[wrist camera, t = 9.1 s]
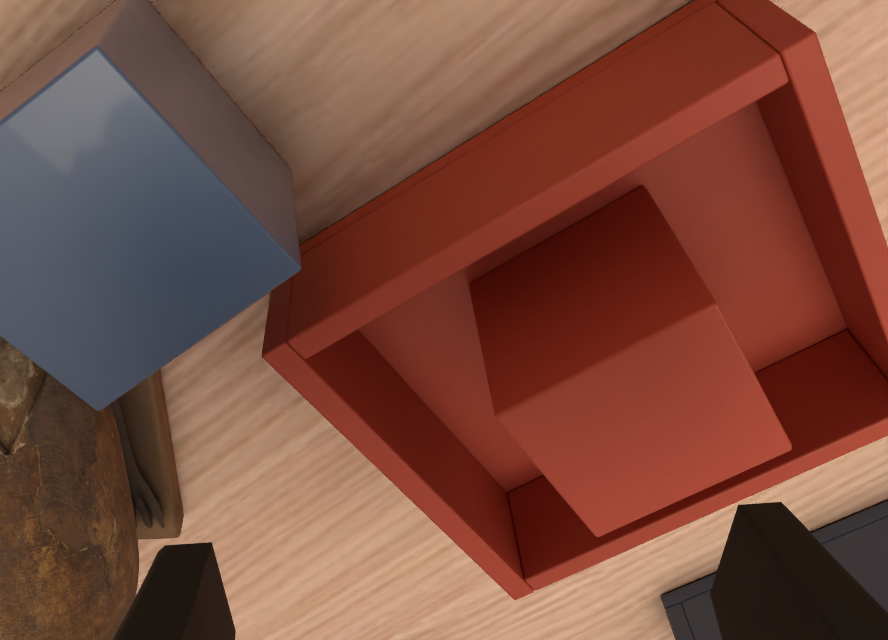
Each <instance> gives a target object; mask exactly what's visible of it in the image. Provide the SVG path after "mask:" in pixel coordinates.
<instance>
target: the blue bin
mask: <svg viewBox="0 0 888 640" xmlns="http://www.w3.org/2000/svg"><path fill="white" fill-rule="evenodd" d="M812 534H813V536H814V537H815V538H816V539H817V540H818V541H819V542H820V543H821V544H822V545H823V546H824V547H825V548H826V549H827V550H828V551H829V552H830V553H831V554H832V555H833V557H834V558H835V559H836V560H837V561H838V562H839V563H840V564H841V565H842V566H843V567H844V568H845V569H846V570H847V571H848V572H849V573H850V574H851V575H852V576H853V577H854V578H855V579H856V580H857V581H858V582H859V583H860V584H861V586H862V587H863V588H864V589H865V590H866V591H867V592H868V593H869V594H870V595H871V596H872V597H873V598H874V599H875V600H876V601H877V602H878V603H879V604H880V605H881V606H882V607H883V608H884V609H885V610H886V611H887V612H888V501H886V502H884V503H881V504H879V505H877V506H874V507H872V508H869V509H867V510H865V511H862V512H860V513H858V514H855V515H853V516H850V517H848V518H846V519H843V520H841V521H839V522H836V523H834V524H831V525H829V526H827V527H824V528H822V529H819V530H817V531H815V532H812ZM715 576H716V573H715V574H712V575H710V576H708V577H705V578H703V579H700V580H698V581H696V582H693V583H691V584H689V585H686V586H684V587H681V588H679V589H677V590H674V591H672V592H670V593H667V594H665V595H662V596H661V599H662V602H663V605H664V608H665V609H666V614H667V616H668V619H669V622H670V625H671V628H672V631H673V634H674V637H675V640H722V637H721V633H720V630H719V626H718V622H717V619H716V615H715V611H714V608H713V604H712V600H711V597H710V592H711V589H712V586H713V582H714V579H715Z"/></svg>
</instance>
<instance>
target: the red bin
mask: <svg viewBox="0 0 888 640" xmlns="http://www.w3.org/2000/svg"><path fill="white" fill-rule="evenodd" d="M641 186H645V187H646V188H647V190H648V191H649V193H650V194H651V196H652V198H653V199H654V201H655V203H656V204H657V206H658V207H659V209H660V211H661V212H662V214H663V216H664V217H665V219H666V220H667V222H668V224H669V225H670V227H671V229H672V230H673V232H674V233H675V235H676V237H677V238H678V240H679V242H680V243H681V245H682V246H683V248H684V250H685V251H686V253H687V255H688V256H689V258H690V259H691V261H692V263H693V264H694V266H695V268H696V269H697V271H698V272H699V274H700V276H701V277H702V279H703V281H704V282H705V284H706V285H707V287H708V289H709V290H710V292H711V294H712V295H713V297H714V298H715V300H716V302H717V303H718V305H719V307H720V309H721V311H722V313H723V315H724V317H725V319H726V320H727V322H728V324H729V326H730V328H731V330H732V332H733V334H734V336H735V338H736V339H737V341H738V343H739V345H740V347H741V349H742V351H743V353H744V355H745V357H746V359H747V360H748V362H749V364H750V366H751V368H752V370H753V372H754V374H755V376H756V378H757V379H758V381H759V383H760V385H761V387H762V389H763V391H764V393H765V395H766V397H767V398H768V400H769V402H770V404H771V406H772V408H773V410H774V412H775V414H776V416H777V418H778V419H779V421H780V423H781V425H782V427H783V429H784V431H785V433H786V435H787V437H788V438H789V440H790V442H791V444H792V449H791V450H790V451H788V452H786V453H784V454H782V455H779V456H777V457H775V458H773V459H771V460H768V461H766V462H764V463H762V464H759V465H757V466H755V467H753V468H751V469H748V470H746V471H744V472H742V473H740V474H737V475H735V476H733V477H731V478H728V479H726V480H724V481H722V482H720V483H717V484H715V485H713V486H711V487H708V488H706V489H704V490H702V491H700V492H697V493H695V494H693V495H691V496H688V497H686V498H684V499H682V500H680V501H677V502H675V503H673V504H671V505H669V506H666V507H664V508H662V509H660V510H657V511H655V512H653V513H651V514H649V515H646V516H644V517H642V518H640V519H637V520H635V521H633V522H631V523H629V524H626V525H624V526H622V527H620V528H617V529H615V530H613V531H611V532H609V533H606V534H604V535H602V536H600V537H596V536H595V535H594V534H593V533H592V531H591V530H590V529H589V528H588V527H587V526H586V524H585V523H584V522H583V521H582V520H581V518H580V517H579V516H578V515H577V514H576V513H575V511H574V510H573V509H572V508H571V507H570V505H569V504H568V503H567V502H566V501H565V500H564V498H563V497H562V496H561V495H560V494H559V492H558V491H557V490H556V489H555V488H554V487H553V485H552V484H551V483H550V482H549V481H548V479H547V478H546V477H545V476H544V475H543V474H542V472H541V471H540V470H539V469H538V468H537V466H536V465H535V464H534V463H533V462H532V461H531V459H530V458H529V457H528V456H527V455H526V453H525V452H524V451H523V450H522V449H521V448H520V446H519V445H518V444H517V443H516V442H515V440H514V439H513V438H512V437H511V436H510V435H509V433H508V432H507V431H506V430H505V429H504V427H503V426H502V425H501V424H500V423H499V422H498V420H497V419H496V418H495V415H494V410H493V405H492V400H491V395H490V389H489V384H488V379H487V374H486V369H485V364H484V359H483V354H482V349H481V344H480V339H479V334H478V329H477V324H476V319H475V314H474V309H473V304H472V299H471V294H470V289H469V284H470V283H471V282H473V281H475V280H477V279H478V278H480V277H482V276H484V275H486V274H487V273H489V272H491V271H493V270H494V269H496V268H498V267H500V266H501V265H503V264H505V263H507V262H508V261H510V260H512V259H514V258H516V257H517V256H519V255H521V254H523V253H524V252H526V251H528V250H530V249H531V248H533V247H535V246H537V245H538V244H540V243H542V242H544V241H546V240H547V239H549V238H551V237H553V236H554V235H556V234H558V233H560V232H561V231H563V230H565V229H567V228H568V227H570V226H572V225H574V224H576V223H577V222H579V221H581V220H583V219H584V218H586V217H588V216H590V215H591V214H593V213H595V212H597V211H598V210H600V209H602V208H604V207H605V206H607V205H609V204H611V203H613V202H614V201H616V200H618V199H620V198H621V197H623V196H625V195H627V194H628V193H630V192H632V191H634V190H635V189H637V188H639V187H641ZM299 250H300V259H301V270H300V271H299V272H297V273H296V274H294V275H293V276H292V277H290V278H289V279H287V280H286V281H284V282H283V283H282V284H280V285H279V286H277V287H276V288H274V289H273V290H272V291H271V295H270V302H269V309H268V315H267V322H266V329H265V336H264V343H263V350H262V357H263V358H264V359H265V360H266V361H267V362H268V363H269V364H270V365H271V366H272V367H273V368H274V369H275V370H276V371H277V372H278V373H279V374H280V375H281V376H282V377H283V378H284V379H286V380H287V381H288V382H289V383H290V384H291V385H292V386H293V387H294V388H295V389H296V390H297V391H298V392H299V393H300V394H301V395H302V396H303V397H304V398H305V399H306V400H307V401H308V402H309V403H310V404H311V405H313V406H314V407H315V408H316V409H317V410H318V411H319V412H320V413H321V414H322V415H323V416H324V417H325V418H326V419H327V420H328V421H329V422H330V423H331V424H332V425H333V426H334V427H335V428H336V429H337V430H339V431H340V432H341V433H342V434H343V435H344V436H345V437H346V438H347V439H348V440H349V441H350V442H351V443H352V444H353V445H354V446H355V447H356V448H357V449H358V450H359V451H360V452H361V453H362V454H363V455H364V456H366V457H367V458H368V459H369V460H370V461H371V462H372V463H373V464H374V465H375V466H376V467H377V468H378V469H379V470H380V471H381V472H382V473H383V474H384V475H385V476H386V477H387V478H388V479H389V480H390V481H392V482H393V483H394V484H395V485H396V486H397V487H398V488H399V489H400V490H401V491H402V492H403V493H404V494H405V495H406V496H407V497H408V498H409V499H410V500H411V501H412V502H413V503H414V504H415V505H416V506H417V507H419V508H420V509H421V510H422V511H423V512H424V513H425V514H426V515H427V516H428V517H429V518H430V519H431V520H432V521H433V522H434V523H435V524H436V525H437V526H438V527H439V528H440V529H441V530H442V531H443V532H445V533H446V534H447V535H448V536H449V537H450V538H451V539H452V540H453V541H454V542H455V543H456V544H457V545H458V546H459V547H460V548H461V549H462V550H463V551H464V552H465V553H466V554H467V555H468V556H469V557H470V558H472V559H473V560H474V561H475V562H476V563H477V564H478V565H479V566H480V567H481V568H482V569H483V570H484V571H485V572H486V573H487V574H488V575H489V576H490V577H491V578H492V579H493V580H494V581H495V582H496V583H498V584H499V585H500V586H501V587H502V588H503V589H504V590H505V591H506V592H507V593H508V594H509V595H510V596H511V597H512V598H513V599H514V600H517V599H519V598H521V597H524V596H526V595H528V594H530V593H533V592H534V590H538V589H541V588H543V587H545V586H548V585H550V584H552V583H554V582H557V581H559V580H561V579H563V578H566V577H568V576H570V575H572V574H575V573H577V572H579V571H582V570H584V569H586V568H588V567H591V566H593V565H595V564H597V563H600V562H602V561H604V560H606V559H609V558H611V557H613V556H616V555H618V554H620V553H622V552H625V551H627V550H629V549H631V548H634V547H636V546H638V545H640V544H643V543H645V542H647V541H649V540H652V539H654V538H656V537H659V536H661V535H663V534H665V533H668V532H670V531H672V530H674V529H677V528H679V527H681V526H683V525H686V524H688V523H690V522H693V521H695V520H697V519H699V518H702V517H704V516H706V515H708V514H711V513H713V512H715V511H717V510H720V509H722V508H724V507H727V506H729V505H731V504H733V503H736V502H738V501H740V500H742V499H745V498H747V497H749V496H751V495H754V494H756V493H758V492H761V491H763V490H765V489H767V488H770V487H772V486H774V485H776V484H779V483H781V482H783V481H785V480H788V479H790V478H792V477H795V476H797V475H799V474H801V473H804V472H806V471H808V470H810V469H813V468H815V467H817V466H819V465H822V464H824V463H826V462H829V461H831V460H833V459H835V458H838V457H840V456H842V455H844V454H847V453H849V452H851V451H853V450H856V449H858V448H860V447H862V446H865V445H867V444H869V443H872V442H874V441H876V440H878V439H881V438H883V437H885V436H887V435H888V247H887V244H886V241H885V238H884V235H883V232H882V229H881V226H880V223H879V220H878V217H877V214H876V211H875V208H874V205H873V202H872V199H871V196H870V193H869V190H868V187H867V184H866V181H865V178H864V175H863V172H862V169H861V166H860V163H859V160H858V157H857V154H856V151H855V148H854V145H853V142H852V139H851V136H850V133H849V130H848V127H847V124H846V121H845V118H844V115H843V112H842V109H841V106H840V103H839V100H838V98H837V95H836V92H835V89H834V86H833V83H832V80H831V77H830V74H829V71H828V68H827V65H826V62H825V59H824V56H823V53H822V50H821V47H820V44H819V41H818V38H817V35H816V33H815V32H814V31H813V30H811V29H810V28H808V27H807V26H805V25H804V24H802V23H801V22H800V21H798V20H797V19H795V18H794V17H792V16H791V15H789V14H788V13H786V12H785V11H784V10H782V9H781V8H779V7H778V6H776V5H775V4H773V3H772V2H771V1H769V0H695V1H693V2H692V3H690V4H688V5H687V6H685V7H684V8H682V9H680V10H679V11H677V12H676V13H674V14H672V15H671V16H669V17H668V18H666V19H664V20H663V21H661V22H659V23H658V24H656V25H655V26H653V27H651V28H650V29H648V30H647V31H645V32H643V33H642V34H640V35H638V36H637V37H635V38H634V39H632V40H630V41H629V42H627V43H626V44H624V45H622V46H621V47H619V48H618V49H616V50H614V51H613V52H611V53H609V54H608V55H606V56H605V57H603V58H601V59H600V60H598V61H597V62H595V63H593V64H592V65H590V66H589V67H587V68H585V69H584V70H582V71H580V72H579V73H577V74H576V75H574V76H572V77H571V78H569V79H568V80H566V81H564V82H563V83H561V84H560V85H558V86H556V87H555V88H553V89H551V90H550V91H548V92H547V93H545V94H543V95H542V96H540V97H539V98H537V99H535V100H534V101H532V102H530V103H529V104H527V105H526V106H524V107H522V108H521V109H519V110H518V111H516V112H514V113H513V114H511V115H510V116H508V117H506V118H505V119H503V120H501V121H500V122H498V123H497V124H495V125H493V126H492V127H490V128H489V129H487V130H485V131H484V132H482V133H481V134H479V135H477V136H476V137H474V138H472V139H471V140H469V141H468V142H466V143H464V144H463V145H461V146H460V147H458V148H456V149H455V150H453V151H452V152H450V153H448V154H447V155H445V156H443V157H442V158H440V159H439V160H437V161H435V162H434V163H432V164H431V165H429V166H427V167H426V168H424V169H422V170H421V171H419V172H418V173H416V174H414V175H413V176H411V177H410V178H408V179H406V180H405V181H403V182H402V183H400V184H398V185H397V186H395V187H393V188H392V189H390V190H389V191H387V192H385V193H384V194H382V195H381V196H379V197H377V198H376V199H374V200H373V201H371V202H369V203H368V204H366V205H364V206H363V207H361V208H360V209H358V210H356V211H355V212H353V213H352V214H350V215H348V216H347V217H345V218H344V219H342V220H340V221H339V222H337V223H335V224H334V225H332V226H331V227H329V228H327V229H326V230H324V231H323V232H321V233H319V234H318V235H316V236H314V237H313V238H311V239H310V240H308V241H306V242H305V243H303V244H302V245H300V246H299Z"/></svg>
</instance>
